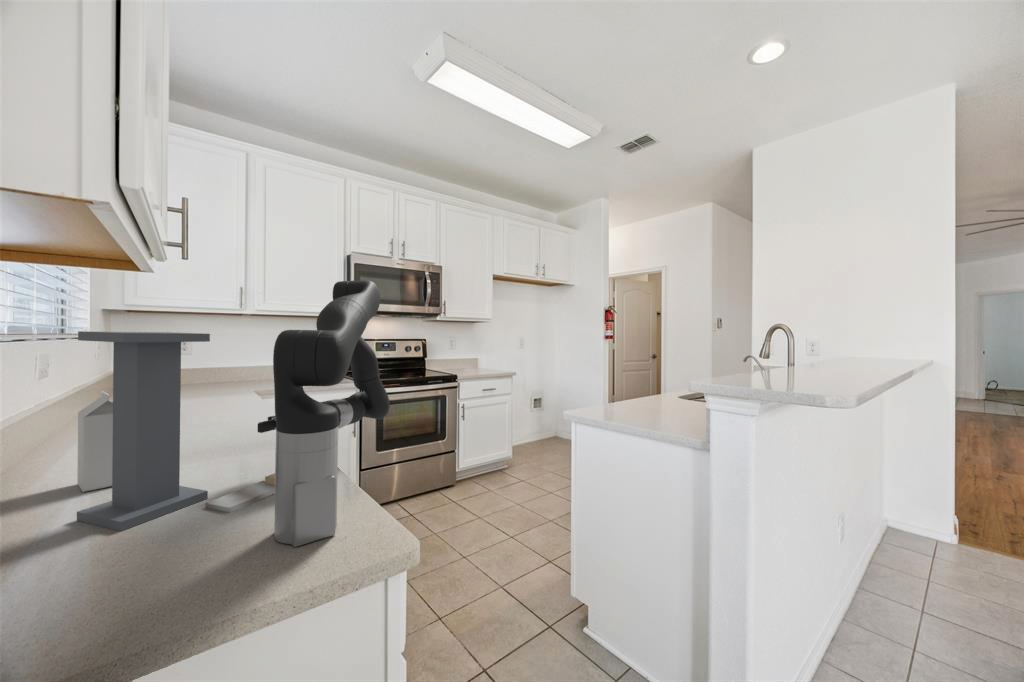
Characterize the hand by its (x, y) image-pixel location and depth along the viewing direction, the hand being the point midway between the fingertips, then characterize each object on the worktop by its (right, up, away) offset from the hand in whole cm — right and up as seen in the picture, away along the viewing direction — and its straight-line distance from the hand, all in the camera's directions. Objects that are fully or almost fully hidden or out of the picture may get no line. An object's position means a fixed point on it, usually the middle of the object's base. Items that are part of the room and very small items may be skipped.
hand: (274, 429), depth 86 cm
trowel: (-1, -12, -1) cm, 12 cm away
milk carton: (-35, -11, -1) cm, 37 cm away
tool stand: (-16, -12, -12) cm, 23 cm away
